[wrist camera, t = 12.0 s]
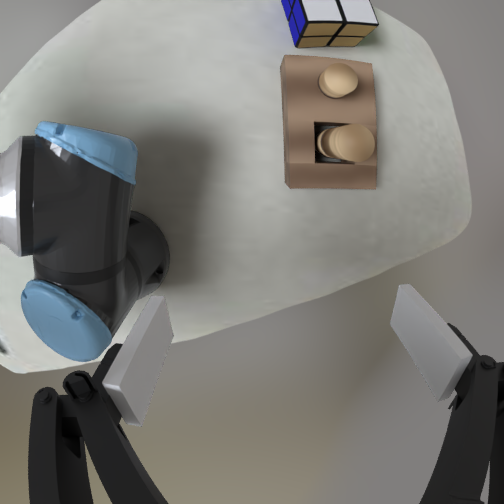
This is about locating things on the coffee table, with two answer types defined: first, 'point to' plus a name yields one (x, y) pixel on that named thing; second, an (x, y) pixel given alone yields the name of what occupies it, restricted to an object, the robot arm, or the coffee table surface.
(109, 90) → the coffee table surface
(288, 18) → the puzzle cube
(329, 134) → the leg
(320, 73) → the wooden peg block
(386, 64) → the coffee table surface
